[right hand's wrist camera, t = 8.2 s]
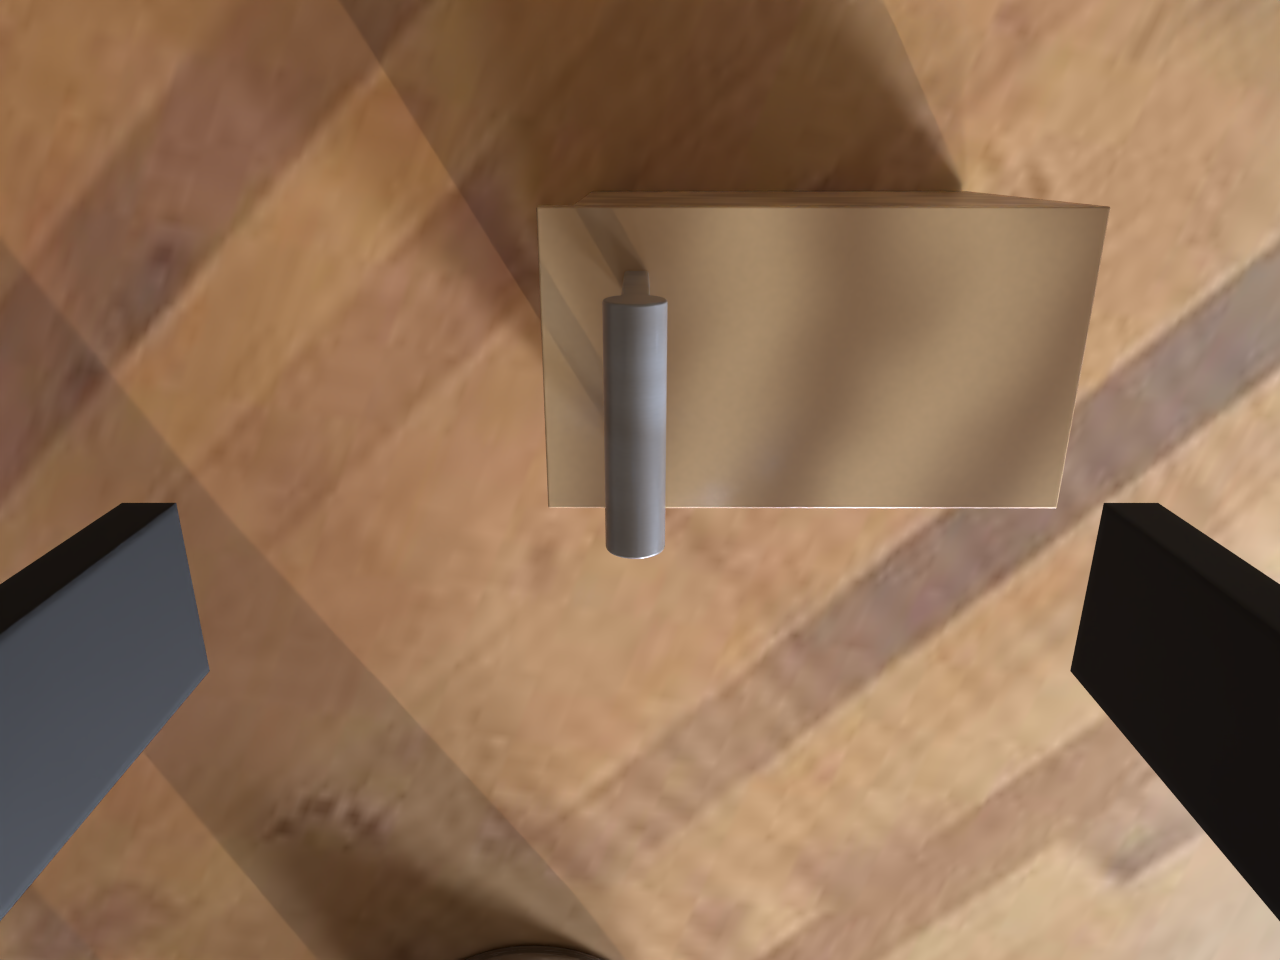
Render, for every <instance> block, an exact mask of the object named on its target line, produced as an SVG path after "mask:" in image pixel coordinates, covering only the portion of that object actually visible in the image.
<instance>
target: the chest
mask: <svg viewBox="0 0 1280 960" xmlns="http://www.w3.org/2000/svg"><path fill="white" fill-rule="evenodd" d="M574 205H1089V204H1080V203H1071V202H1061V201H1052V200H1043V199H1033V198H1024V197H1015V196H1005V195H996V194H986V193H977V192H967V191H593V192H591V193H590V194H588V195H587V196H585V197H584V198H583V199H581V200H580V201H578V202H577V203H576V204H574Z"/></svg>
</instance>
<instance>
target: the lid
mask: <svg viewBox="0 0 1280 960" xmlns="http://www.w3.org/2000/svg"><path fill="white" fill-rule="evenodd" d="M1109 212H1110V207H1108V206H1099V205H540V206H538V207H537V232H538V257H539V283H540V308H541V333H542V359H543V384H544V409H545V435H546V460H547V486H548V507H549V508H605V528H606V548H607V550H608V551H609V552H610V553H612V554H613V555H616V556H619V557H623V558H630V559H641V558H648V557H652V556H655V555H657V554H659V553H660V552H662V551H663V549H664V547H665V508H1056V507H1057V502H1058V496H1059V491H1060V485H1061V480H1062V474H1063V469H1064V463H1065V457H1066V452H1067V446H1068V441H1069V435H1070V430H1071V424H1072V418H1073V413H1074V407H1075V402H1076V396H1077V391H1078V385H1079V379H1080V374H1081V368H1082V363H1083V357H1084V352H1085V346H1086V340H1087V335H1088V329H1089V324H1090V318H1091V313H1092V307H1093V301H1094V296H1095V290H1096V285H1097V279H1098V274H1099V268H1100V262H1101V257H1102V251H1103V246H1104V240H1105V235H1106V229H1107V223H1108V218H1109Z"/></svg>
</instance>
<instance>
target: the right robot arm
mask: <svg viewBox="0 0 1280 960" xmlns="http://www.w3.org/2000/svg"><path fill="white" fill-rule="evenodd" d="M209 671H210V670H209V665H208V660H207V655H206V650H205V645H204V640H203V635H202V630H201V625H200V620H199V615H198V610H197V605H196V600H195V595H194V590H193V585H192V580H191V575H190V570H189V565H188V560H187V555H186V550H185V545H184V540H183V535H182V530H181V525H180V520H179V515H178V510H177V505H176V503H121V504H120V505H118V506H117V507H115V508H114V509H112V510H111V511H109V512H108V513H106V514H105V515H103V516H102V517H100V518H99V519H97V520H96V521H94V522H93V523H91V524H90V525H88V526H87V527H85V528H84V529H82V530H81V531H79V532H78V533H76V534H75V535H73V536H72V537H70V538H69V539H67V540H66V541H64V542H63V543H61V544H60V545H58V546H57V547H55V548H54V549H52V550H51V551H49V552H48V553H46V554H45V555H43V556H42V557H41V558H39V559H38V560H36V561H35V562H33V563H32V564H30V565H29V566H27V567H26V568H24V569H23V570H21V571H20V572H18V573H17V574H15V575H14V576H12V577H11V578H9V579H8V580H6V581H5V582H3V583H2V584H0V921H1V920H2V918H3V917H4V916H5V915H6V914H7V912H8V911H9V910H10V909H11V908H12V906H13V905H14V904H15V903H16V902H17V900H18V899H19V898H20V897H21V896H22V894H23V893H24V892H25V891H26V890H27V888H28V887H29V886H30V885H31V884H32V883H33V881H34V880H35V879H36V878H37V877H38V875H39V874H40V873H41V872H42V871H43V869H44V868H45V867H46V866H47V865H48V863H49V862H50V861H51V860H52V859H53V857H54V856H55V855H56V854H57V853H58V851H59V850H60V849H61V848H62V847H63V845H64V844H65V843H66V842H67V841H68V839H69V838H70V837H71V836H72V835H73V834H74V832H75V831H76V830H77V829H78V828H79V826H80V825H81V824H82V823H83V822H84V820H85V819H86V818H87V817H88V816H89V814H90V813H91V812H92V811H93V810H94V808H95V807H96V806H97V805H98V804H99V802H100V801H101V800H102V799H103V798H104V796H105V795H106V794H107V793H108V792H109V790H110V789H111V788H112V787H113V786H114V785H115V783H116V782H117V781H118V780H119V779H120V777H121V776H122V775H123V774H124V773H125V771H126V770H127V769H128V768H129V767H130V765H131V764H132V763H133V762H134V761H135V759H136V758H137V757H138V756H139V755H140V753H141V752H142V751H143V750H144V749H145V747H146V746H147V745H148V744H149V743H150V741H151V740H152V739H153V738H154V737H155V736H156V734H157V733H158V732H159V731H160V730H161V728H162V727H163V726H164V725H165V724H166V722H167V721H168V720H169V719H170V718H171V716H172V715H173V714H174V713H175V712H176V710H177V709H178V708H179V707H180V706H181V704H182V703H183V702H184V701H185V700H186V698H187V697H188V696H189V695H190V694H191V693H192V691H193V690H194V689H195V688H196V687H197V685H198V684H199V683H200V682H201V681H202V679H203V678H204V677H205V676H206V675H207V673H208V672H209ZM1070 671H1071V672H1072V673H1073V675H1074V676H1075V677H1076V678H1077V679H1078V681H1079V682H1080V683H1081V684H1082V685H1083V687H1084V688H1085V689H1086V690H1087V691H1088V693H1089V694H1090V695H1091V696H1092V697H1093V698H1094V700H1095V701H1096V702H1097V703H1098V704H1099V706H1100V707H1101V708H1102V709H1103V710H1104V712H1105V713H1106V714H1107V715H1108V716H1109V718H1110V719H1111V720H1112V721H1113V722H1114V724H1115V725H1116V726H1117V727H1118V728H1119V730H1120V731H1121V732H1122V733H1123V734H1124V736H1125V737H1126V738H1127V739H1128V740H1129V741H1130V743H1131V744H1132V745H1133V746H1134V747H1135V749H1136V750H1137V751H1138V752H1139V753H1140V755H1141V756H1142V757H1143V758H1144V759H1145V761H1146V762H1147V763H1148V764H1149V765H1150V767H1151V768H1152V769H1153V770H1154V771H1155V773H1156V774H1157V775H1158V776H1159V777H1160V779H1161V780H1162V781H1163V782H1164V783H1165V785H1166V786H1167V787H1168V788H1169V789H1170V790H1171V792H1172V793H1173V794H1174V795H1175V796H1176V798H1177V799H1178V800H1179V801H1180V802H1181V804H1182V805H1183V806H1184V807H1185V808H1186V810H1187V811H1188V812H1189V813H1190V814H1191V816H1192V817H1193V818H1194V819H1195V820H1196V822H1197V823H1198V824H1199V825H1200V826H1201V828H1202V829H1203V830H1204V831H1205V832H1206V834H1207V835H1208V836H1209V837H1210V838H1211V839H1212V841H1213V842H1214V843H1215V844H1216V845H1217V847H1218V848H1219V849H1220V850H1221V851H1222V853H1223V854H1224V855H1225V856H1226V857H1227V859H1228V860H1229V861H1230V862H1231V863H1232V865H1233V866H1234V867H1235V868H1236V869H1237V871H1238V872H1239V873H1240V874H1241V875H1242V877H1243V878H1244V879H1245V880H1246V881H1247V883H1248V884H1249V885H1250V886H1251V887H1252V888H1253V890H1254V891H1255V892H1256V893H1257V894H1258V896H1259V897H1260V898H1261V899H1262V900H1263V902H1264V903H1265V904H1266V905H1267V906H1268V908H1269V909H1270V910H1271V911H1272V912H1273V914H1274V915H1275V916H1276V917H1277V918H1278V920H1279V921H1280V584H1278V583H1277V582H1275V581H1274V580H1272V579H1271V578H1269V577H1268V576H1266V575H1265V574H1263V573H1262V572H1260V571H1259V570H1257V569H1256V568H1254V567H1253V566H1251V565H1250V564H1248V563H1247V562H1245V561H1244V560H1242V559H1241V558H1239V557H1238V556H1237V555H1235V554H1234V553H1232V552H1231V551H1229V550H1228V549H1226V548H1225V547H1223V546H1222V545H1220V544H1219V543H1217V542H1216V541H1214V540H1213V539H1211V538H1210V537H1208V536H1207V535H1205V534H1204V533H1202V532H1201V531H1199V530H1198V529H1196V528H1195V527H1193V526H1192V525H1190V524H1189V523H1187V522H1186V521H1184V520H1183V519H1181V518H1180V517H1178V516H1177V515H1175V514H1174V513H1172V512H1171V511H1169V510H1168V509H1166V508H1165V507H1163V506H1162V505H1160V504H1159V503H1104V505H1103V510H1102V515H1101V520H1100V525H1099V530H1098V535H1097V540H1096V545H1095V550H1094V555H1093V560H1092V565H1091V570H1090V575H1089V580H1088V585H1087V590H1086V595H1085V600H1084V605H1083V610H1082V615H1081V620H1080V625H1079V630H1078V635H1077V640H1076V645H1075V650H1074V655H1073V660H1072V665H1071V670H1070ZM466 960H602V959H600V958H597V957H594V956H592V955H589V954H585V953H582V952H579V951H575V950H570V949H565V948H558V947H551V946H517V947H508V948H502V949H496V950H492V951H488V952H484V953H482V954H479V955H476V956H473V957H470V958H468V959H466Z"/></svg>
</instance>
